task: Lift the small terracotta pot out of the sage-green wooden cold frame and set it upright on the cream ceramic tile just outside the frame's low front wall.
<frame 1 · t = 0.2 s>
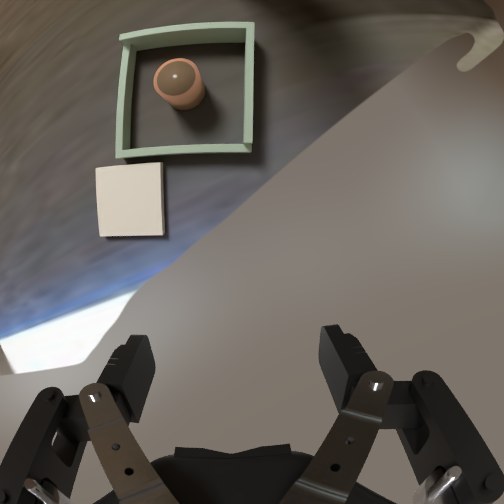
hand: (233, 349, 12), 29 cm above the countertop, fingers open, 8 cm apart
cold frame: (185, 92, 34), on the countertop
terracotta pot: (185, 92, 34), resting in cold frame
cream tile: (131, 199, 38), on the countertop
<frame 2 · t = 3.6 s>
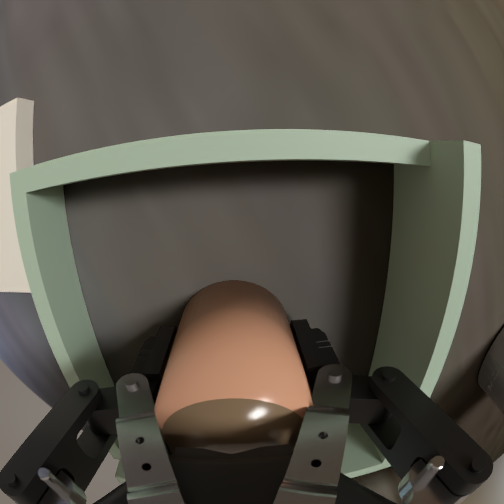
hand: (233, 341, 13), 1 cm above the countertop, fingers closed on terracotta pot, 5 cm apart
cold frame: (234, 330, 14), on the countertop
terracotta pot: (234, 329, 14), resting in cold frame, touching gripper
when the fingers open (4 cm above the countertop, at t = 10.4 s): terracotta pot drops 1 cm, resting on cream tile.
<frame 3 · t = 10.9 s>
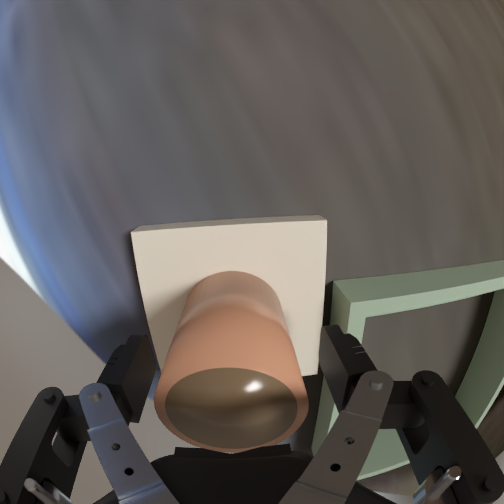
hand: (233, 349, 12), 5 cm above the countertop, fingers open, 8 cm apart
cold frame: (419, 366, 20), on the countertop
terracotta pot: (232, 316, 15), point 2 cm above the countertop, touching cream tile
cream tile: (234, 303, 17), on the countertop
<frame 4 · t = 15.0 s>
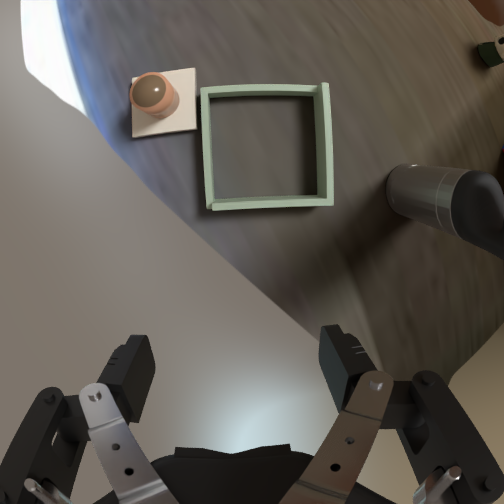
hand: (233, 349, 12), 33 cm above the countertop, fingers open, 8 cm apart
cold frame: (264, 144, 41), on the countertop
terracotta pot: (162, 101, 37), point 1 cm above the countertop, touching cream tile
cream tile: (164, 103, 38), on the countertop
character mug: (484, 55, 35), on the countertop
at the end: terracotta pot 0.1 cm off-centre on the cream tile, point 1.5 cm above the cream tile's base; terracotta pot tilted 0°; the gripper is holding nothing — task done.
